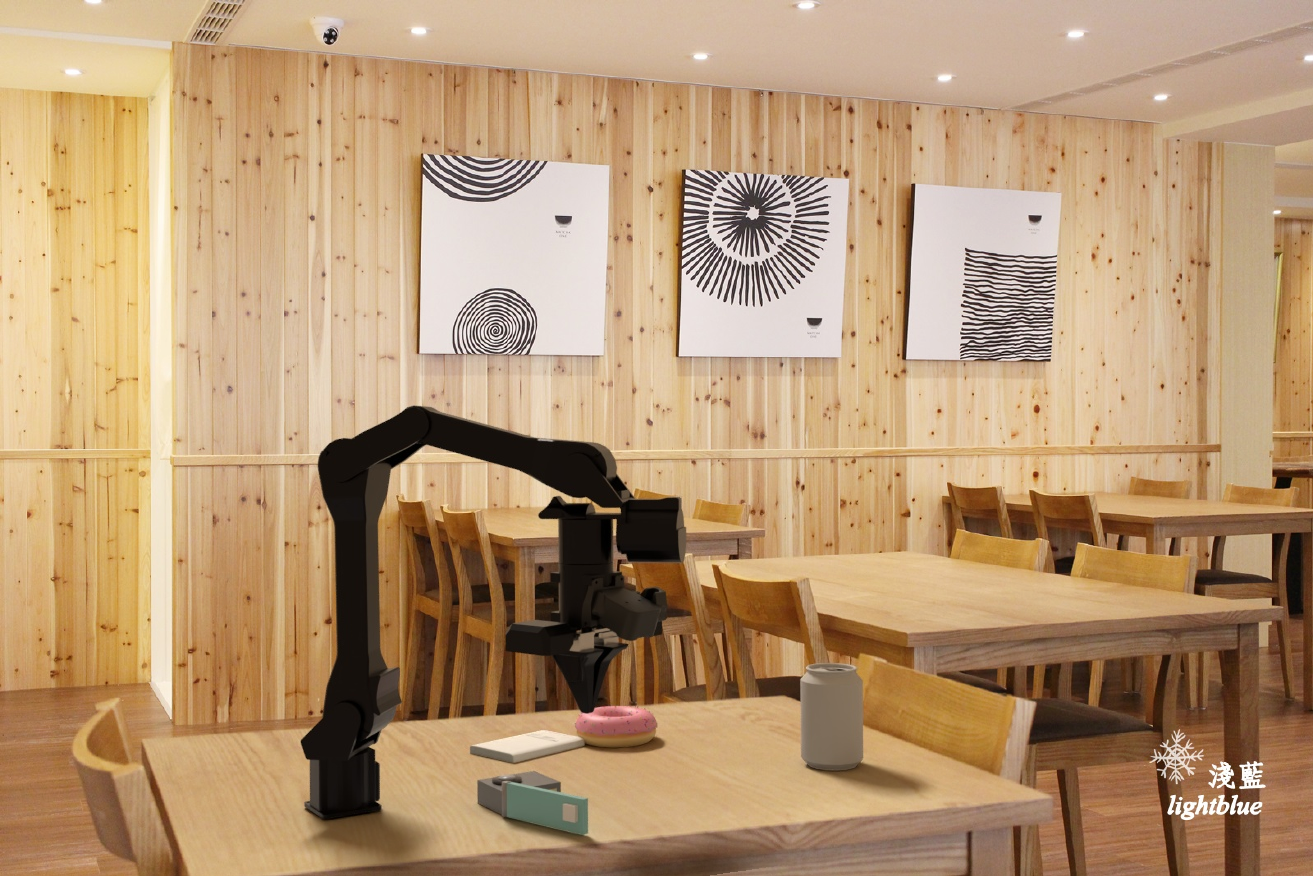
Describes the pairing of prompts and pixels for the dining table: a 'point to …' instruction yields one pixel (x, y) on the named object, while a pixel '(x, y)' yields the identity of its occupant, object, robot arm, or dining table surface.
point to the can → (831, 716)
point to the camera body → (492, 787)
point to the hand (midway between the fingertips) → (587, 712)
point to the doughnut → (616, 726)
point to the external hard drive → (527, 746)
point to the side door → (545, 807)
